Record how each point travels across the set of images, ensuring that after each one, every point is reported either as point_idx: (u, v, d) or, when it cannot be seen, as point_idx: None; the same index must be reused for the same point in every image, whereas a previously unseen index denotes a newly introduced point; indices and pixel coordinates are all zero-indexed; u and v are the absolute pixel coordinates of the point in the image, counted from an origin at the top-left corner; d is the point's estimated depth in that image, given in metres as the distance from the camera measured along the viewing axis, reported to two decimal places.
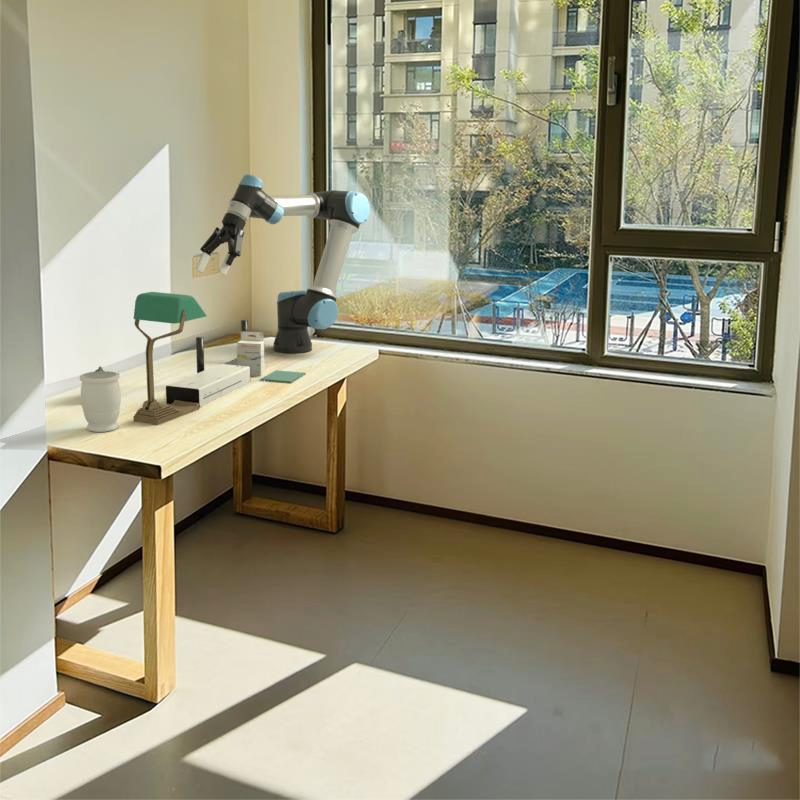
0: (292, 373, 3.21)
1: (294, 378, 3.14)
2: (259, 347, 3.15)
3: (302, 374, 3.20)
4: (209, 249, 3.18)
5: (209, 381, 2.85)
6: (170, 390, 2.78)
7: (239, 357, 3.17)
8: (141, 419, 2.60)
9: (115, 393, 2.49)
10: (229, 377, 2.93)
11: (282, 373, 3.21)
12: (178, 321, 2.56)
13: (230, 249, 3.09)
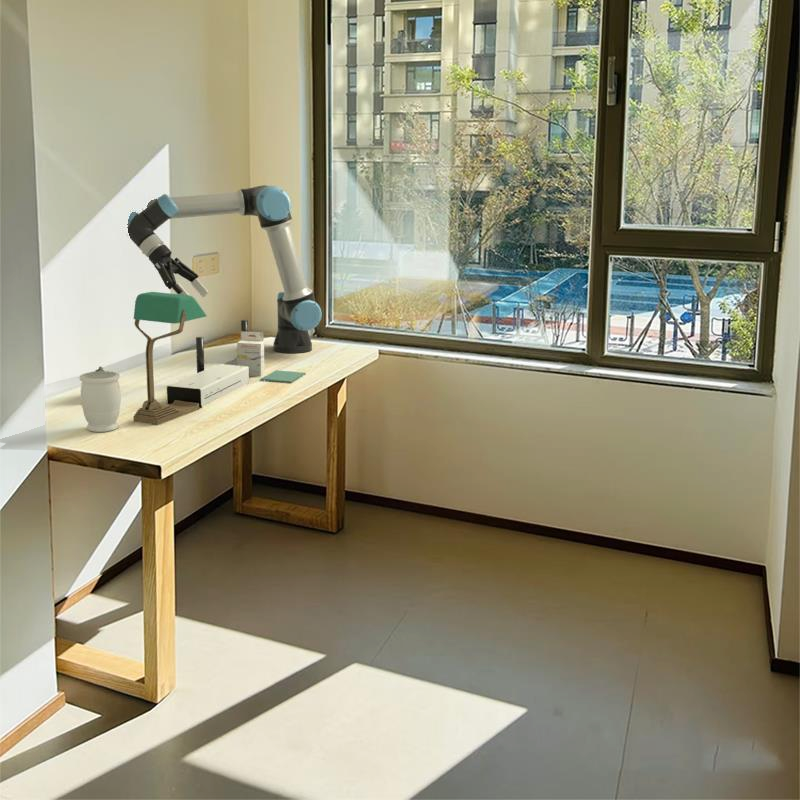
0: (292, 373, 3.21)
1: (294, 378, 3.14)
2: (259, 347, 3.15)
3: (302, 374, 3.20)
4: (188, 278, 3.24)
5: (210, 381, 2.85)
6: (171, 390, 2.78)
7: (239, 357, 3.17)
8: (141, 419, 2.60)
9: (115, 393, 2.49)
10: (229, 377, 2.93)
11: (282, 373, 3.21)
12: (178, 321, 2.56)
13: None
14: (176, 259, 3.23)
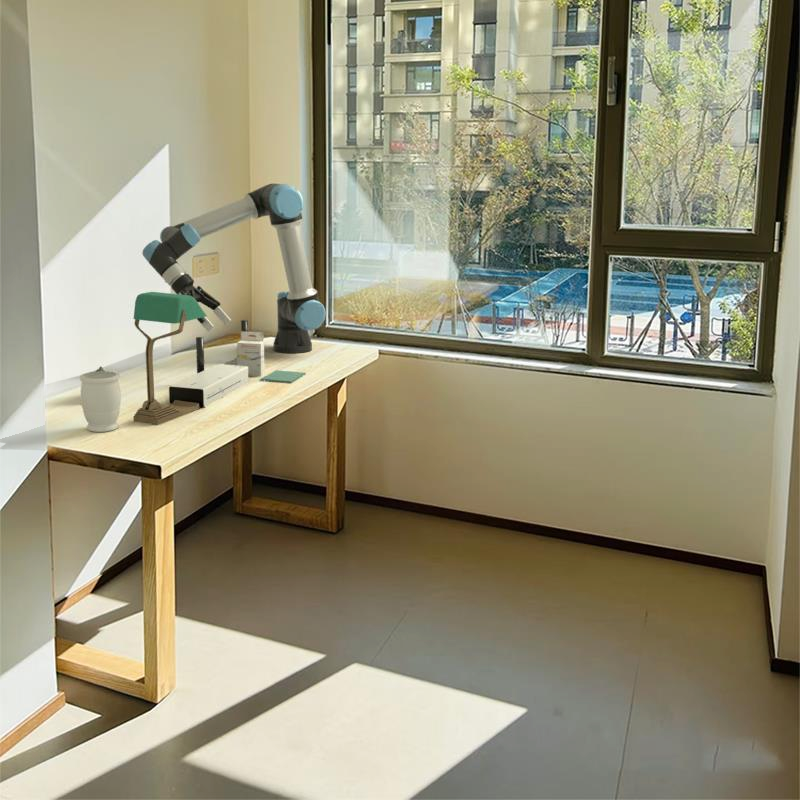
0: (292, 373, 3.21)
1: (294, 378, 3.14)
2: (259, 347, 3.15)
3: (302, 374, 3.20)
4: (211, 306, 3.25)
5: (211, 381, 2.85)
6: (173, 391, 2.78)
7: (239, 357, 3.17)
8: (141, 419, 2.60)
9: (115, 393, 2.49)
10: (230, 377, 2.93)
11: (282, 373, 3.21)
12: (178, 321, 2.56)
13: None
14: (198, 287, 3.24)
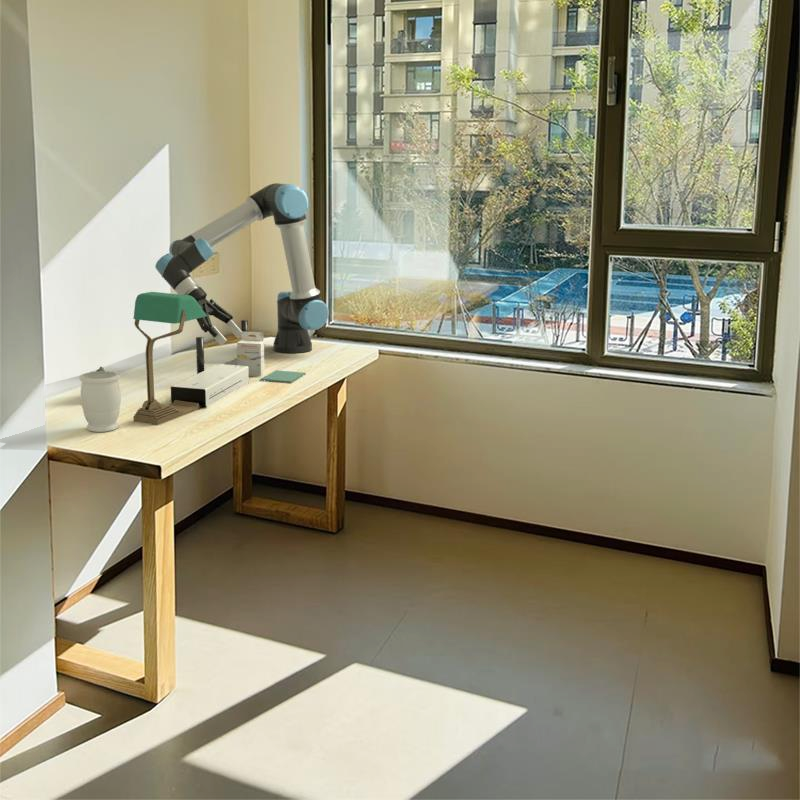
0: (292, 373, 3.21)
1: (294, 378, 3.14)
2: (259, 347, 3.15)
3: (302, 374, 3.20)
4: (223, 319, 3.24)
5: (213, 381, 2.85)
6: (175, 391, 2.77)
7: (239, 357, 3.17)
8: (141, 419, 2.60)
9: (115, 393, 2.49)
10: (231, 377, 2.93)
11: (282, 373, 3.21)
12: (178, 321, 2.56)
13: None
14: (211, 301, 3.23)
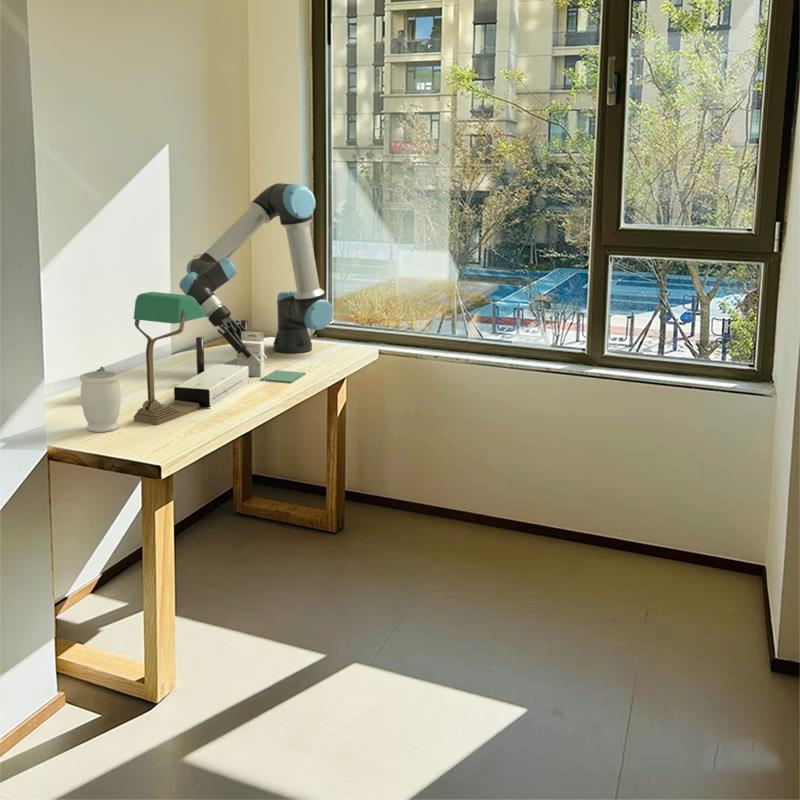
0: (292, 373, 3.21)
1: (294, 378, 3.14)
2: (259, 347, 3.15)
3: (302, 374, 3.20)
4: None
5: (215, 381, 2.85)
6: (178, 391, 2.77)
7: (239, 357, 3.17)
8: (141, 419, 2.60)
9: (115, 393, 2.49)
10: (232, 377, 2.93)
11: (282, 373, 3.21)
12: (178, 321, 2.56)
13: None
14: (237, 321, 3.23)
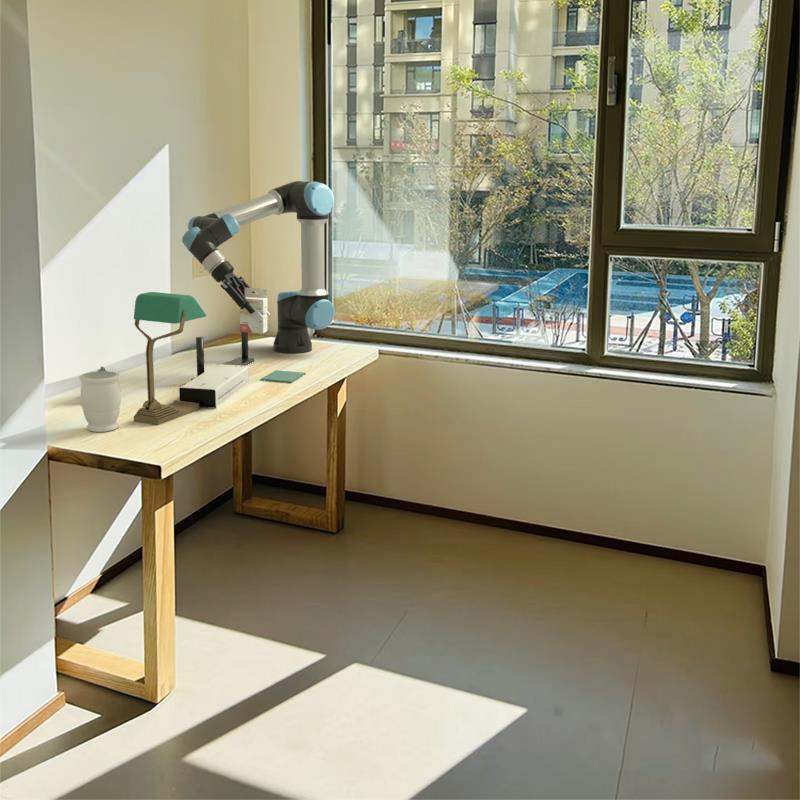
0: (292, 373, 3.21)
1: (294, 378, 3.14)
2: (261, 303, 3.10)
3: (302, 374, 3.20)
4: None
5: (219, 381, 2.85)
6: (183, 392, 2.77)
7: (242, 313, 3.13)
8: (141, 419, 2.60)
9: (115, 393, 2.49)
10: (235, 377, 2.94)
11: (282, 373, 3.21)
12: (178, 321, 2.56)
13: None
14: (240, 277, 3.18)
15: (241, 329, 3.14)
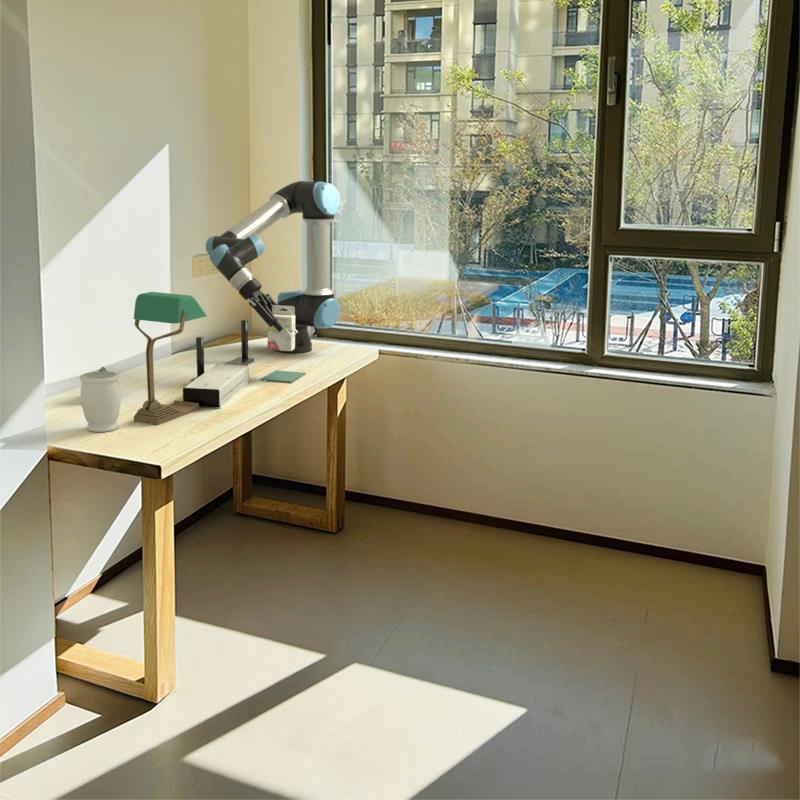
0: (292, 373, 3.21)
1: (294, 378, 3.14)
2: (290, 321, 3.09)
3: (302, 374, 3.20)
4: None
5: (222, 381, 2.85)
6: (187, 392, 2.76)
7: (270, 331, 3.11)
8: (141, 419, 2.60)
9: (115, 393, 2.49)
10: (236, 376, 2.94)
11: (282, 373, 3.21)
12: (178, 321, 2.56)
13: None
14: (267, 295, 3.17)
15: (269, 347, 3.13)
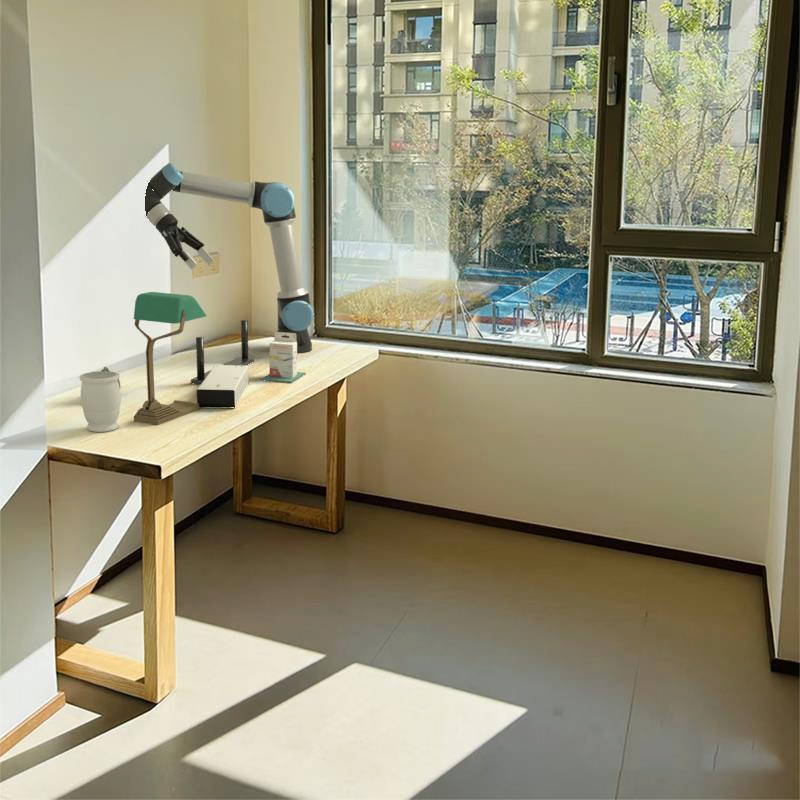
0: None
1: (294, 378, 3.14)
2: (291, 348, 3.12)
3: (302, 374, 3.20)
4: (195, 246, 3.32)
5: (232, 382, 2.85)
6: (201, 394, 2.75)
7: (272, 358, 3.14)
8: (141, 419, 2.60)
9: (115, 393, 2.49)
10: (242, 377, 2.94)
11: None
12: (178, 321, 2.56)
13: None
14: (182, 228, 3.31)
15: (271, 373, 3.16)
